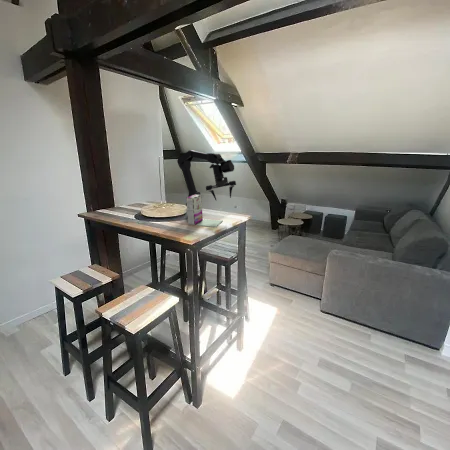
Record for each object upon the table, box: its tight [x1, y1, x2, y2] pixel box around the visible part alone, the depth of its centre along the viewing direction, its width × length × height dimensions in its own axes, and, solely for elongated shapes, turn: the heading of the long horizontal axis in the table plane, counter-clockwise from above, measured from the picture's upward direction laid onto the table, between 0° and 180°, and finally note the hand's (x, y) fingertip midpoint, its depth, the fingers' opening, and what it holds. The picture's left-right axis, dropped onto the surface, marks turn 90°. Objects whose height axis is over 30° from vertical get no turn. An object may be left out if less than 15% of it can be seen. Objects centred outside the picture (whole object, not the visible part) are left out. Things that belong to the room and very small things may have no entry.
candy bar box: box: [185, 194, 204, 226], centre depth 146 cm, size 11×5×16 cm, turn 160°
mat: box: [196, 218, 223, 228], centre depth 146 cm, size 12×13×1 cm
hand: (223, 199), depth 151 cm, fingers open, 9 cm apart
